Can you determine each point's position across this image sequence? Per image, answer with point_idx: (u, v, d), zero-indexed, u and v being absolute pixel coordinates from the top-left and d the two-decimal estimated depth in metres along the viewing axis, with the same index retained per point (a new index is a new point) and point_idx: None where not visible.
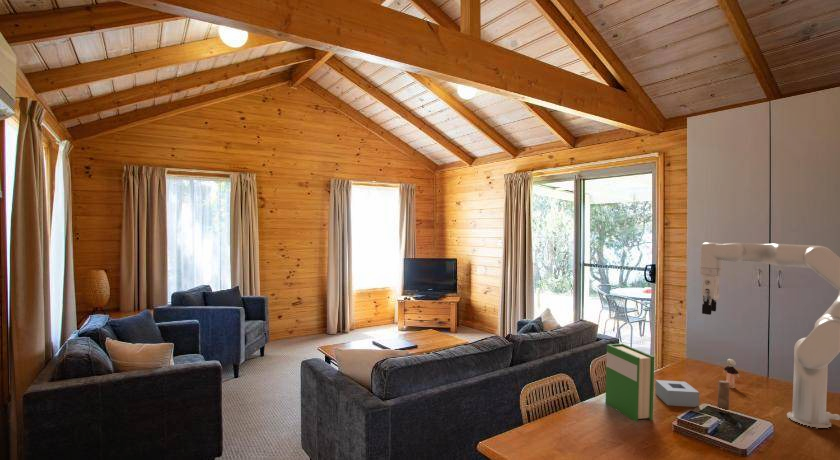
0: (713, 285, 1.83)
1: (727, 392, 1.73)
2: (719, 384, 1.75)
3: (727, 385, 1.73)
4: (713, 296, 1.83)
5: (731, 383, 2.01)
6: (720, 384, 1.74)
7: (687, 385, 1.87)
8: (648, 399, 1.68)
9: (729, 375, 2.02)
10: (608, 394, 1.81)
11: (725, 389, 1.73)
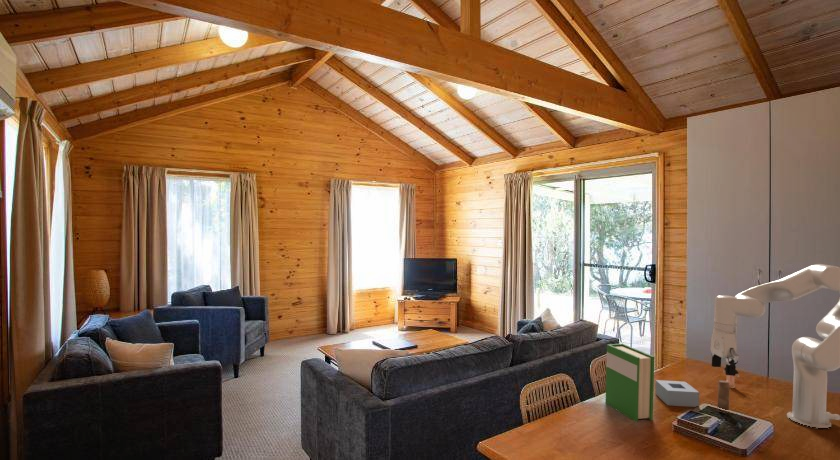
0: None
1: (727, 392, 1.73)
2: (719, 384, 1.75)
3: (727, 385, 1.73)
4: None
5: (731, 383, 2.01)
6: (720, 384, 1.74)
7: (687, 385, 1.87)
8: (648, 399, 1.68)
9: (729, 375, 2.02)
10: (608, 394, 1.81)
11: (725, 389, 1.73)
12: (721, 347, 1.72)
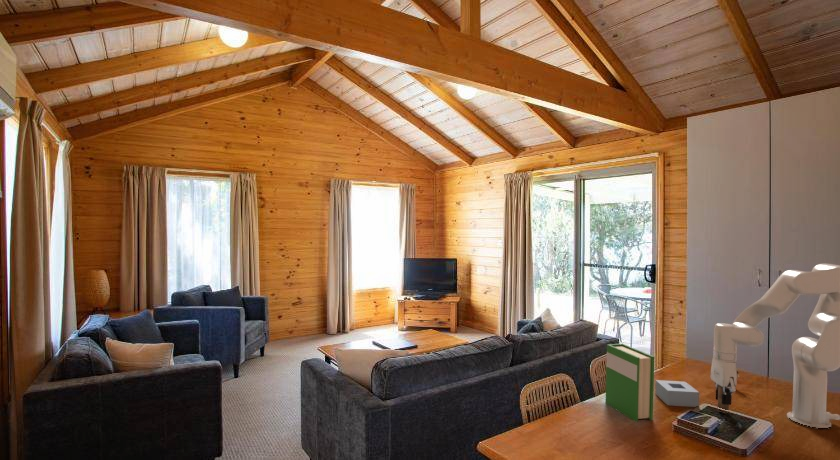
0: None
1: None
2: None
3: None
4: None
5: None
6: None
7: (687, 385, 1.87)
8: (648, 399, 1.68)
9: None
10: (608, 394, 1.81)
11: None
12: (721, 376, 1.72)
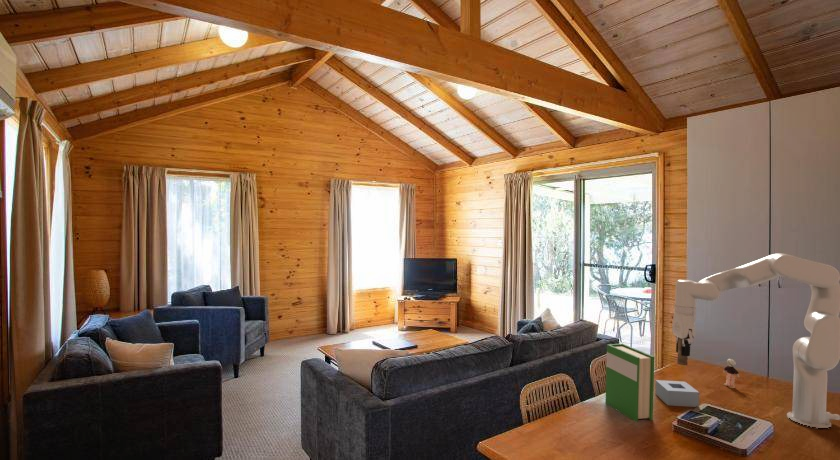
0: None
1: None
2: None
3: (686, 337, 1.82)
4: None
5: (731, 383, 2.01)
6: None
7: (687, 385, 1.87)
8: (648, 399, 1.68)
9: (729, 375, 2.02)
10: (608, 394, 1.81)
11: None
12: (680, 328, 1.81)
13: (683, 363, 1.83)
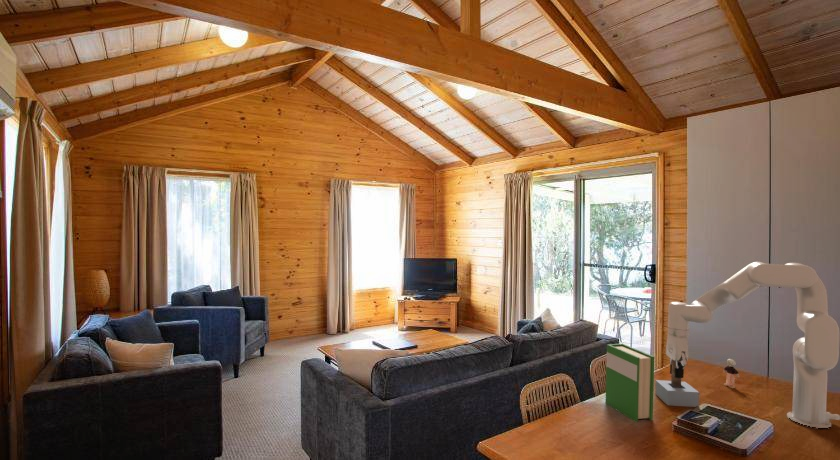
0: None
1: None
2: None
3: None
4: None
5: (731, 383, 2.01)
6: None
7: (687, 385, 1.87)
8: (648, 399, 1.68)
9: (729, 375, 2.02)
10: (608, 394, 1.81)
11: None
12: (674, 351, 1.83)
13: (677, 385, 1.85)
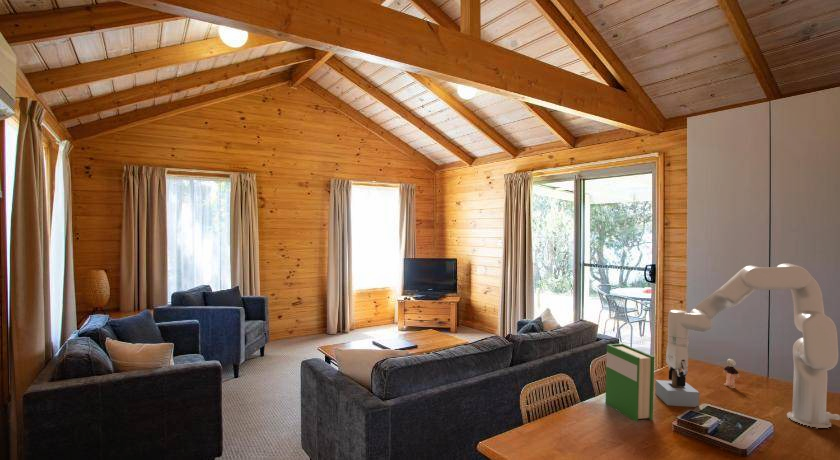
0: None
1: None
2: (672, 374, 1.86)
3: None
4: None
5: (731, 383, 2.01)
6: (673, 373, 1.85)
7: (687, 385, 1.87)
8: (648, 399, 1.68)
9: (729, 375, 2.02)
10: (608, 394, 1.81)
11: None
12: (674, 359, 1.83)
13: None
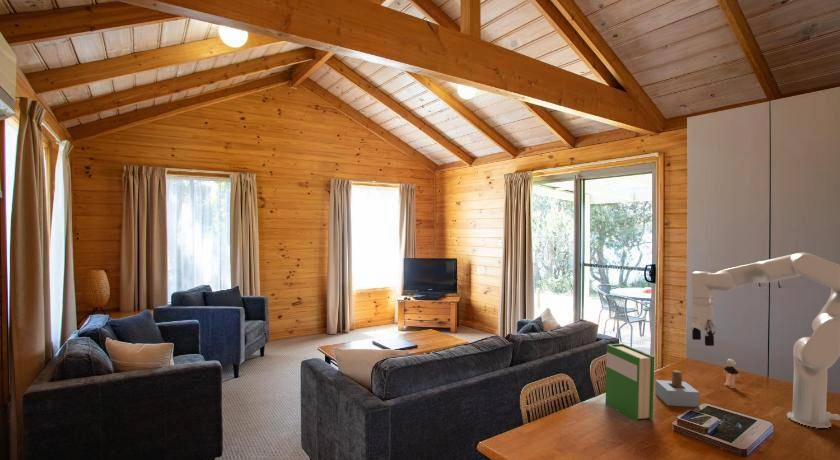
0: None
1: (680, 381, 1.84)
2: (672, 374, 1.86)
3: (680, 374, 1.84)
4: None
5: (731, 383, 2.01)
6: (673, 373, 1.85)
7: (687, 385, 1.87)
8: (648, 399, 1.68)
9: (729, 375, 2.02)
10: (608, 394, 1.81)
11: (677, 378, 1.84)
12: (699, 320, 1.82)
13: None
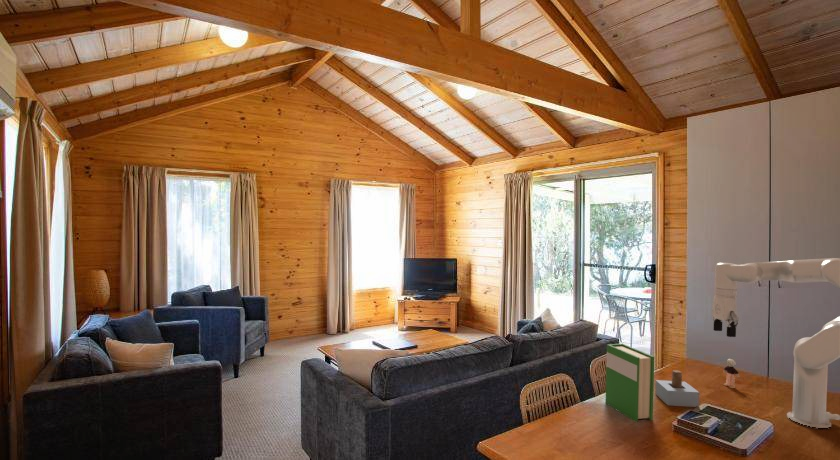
0: None
1: (679, 381, 1.84)
2: (672, 374, 1.86)
3: (679, 374, 1.84)
4: None
5: (731, 383, 2.01)
6: (673, 373, 1.86)
7: (687, 385, 1.87)
8: (648, 399, 1.68)
9: (729, 375, 2.02)
10: (608, 394, 1.81)
11: (677, 378, 1.84)
12: (722, 311, 1.82)
13: None
